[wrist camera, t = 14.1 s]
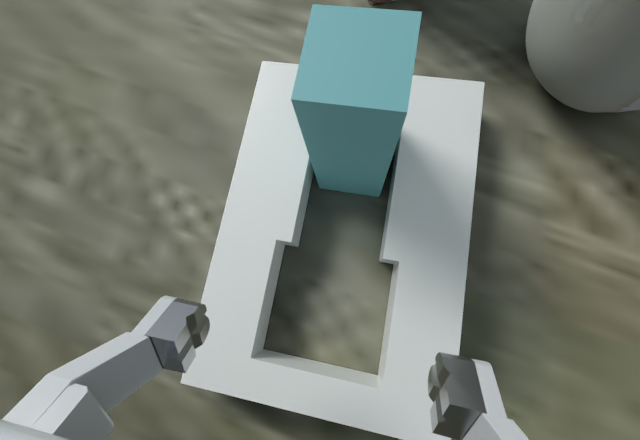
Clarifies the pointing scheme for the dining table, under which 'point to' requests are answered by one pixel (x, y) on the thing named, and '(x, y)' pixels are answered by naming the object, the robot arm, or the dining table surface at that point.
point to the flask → (380, 1)
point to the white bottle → (587, 52)
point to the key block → (354, 92)
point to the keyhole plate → (397, 248)
